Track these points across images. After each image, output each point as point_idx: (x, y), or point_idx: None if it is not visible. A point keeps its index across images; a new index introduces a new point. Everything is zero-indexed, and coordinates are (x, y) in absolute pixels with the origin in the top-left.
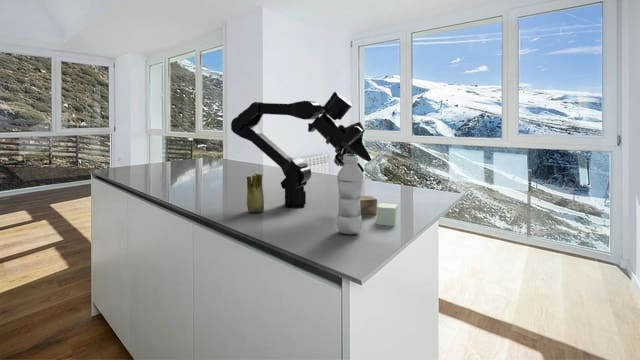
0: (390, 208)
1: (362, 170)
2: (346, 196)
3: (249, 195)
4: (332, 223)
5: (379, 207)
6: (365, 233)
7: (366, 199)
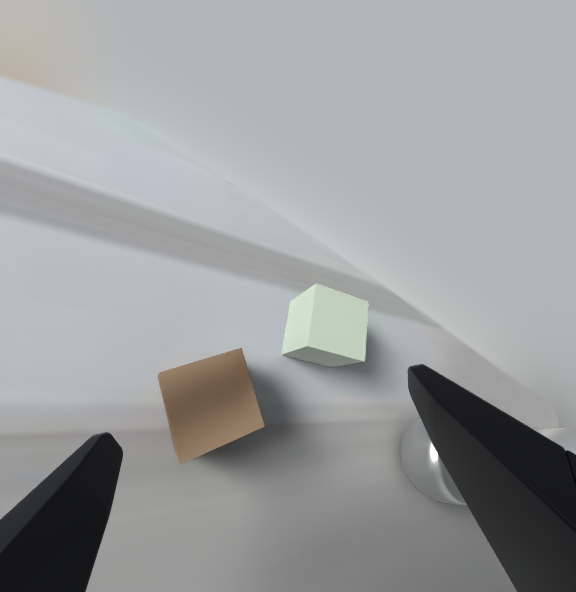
0: (367, 317)
1: (108, 454)
2: None
3: None
4: (347, 527)
5: (364, 353)
6: (407, 403)
7: (248, 400)
